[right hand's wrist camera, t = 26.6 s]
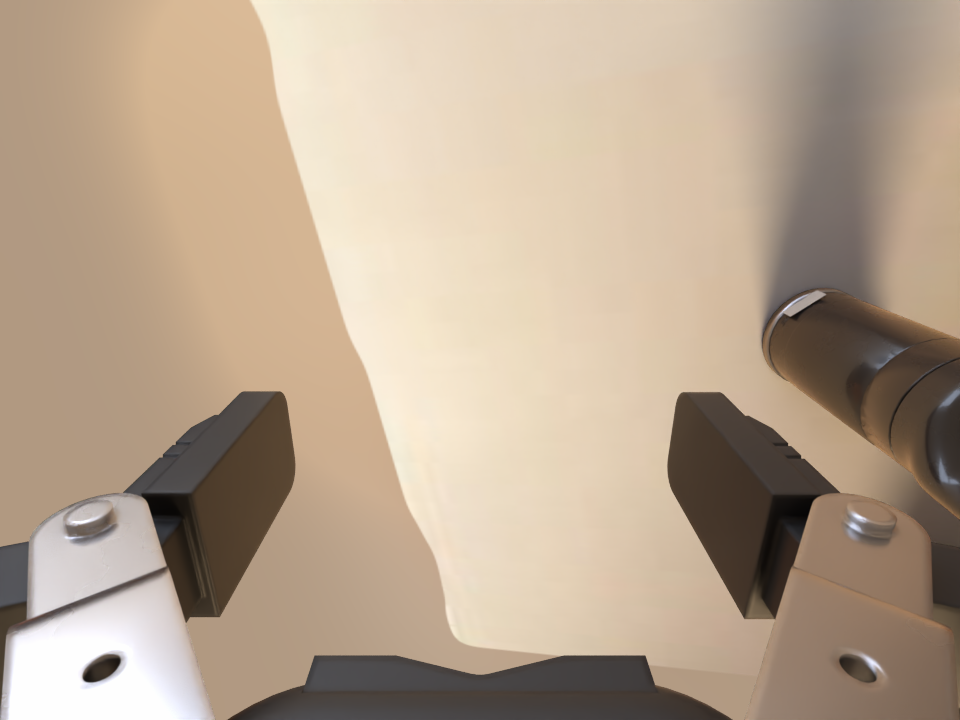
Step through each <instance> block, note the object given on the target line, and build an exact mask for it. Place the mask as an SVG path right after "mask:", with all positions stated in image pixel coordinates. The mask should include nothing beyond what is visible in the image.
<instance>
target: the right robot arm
mask: <svg viewBox="0 0 960 720" xmlns="http://www.w3.org/2000/svg"><path fill="white" fill-rule="evenodd" d="M763 353H764V357H765V360H766V362H767V364H768V365H769V367H770V368H771V369H772V370H773V371H774V372H775V373H776V374H778V375H779V376H780V377H782V378H783V379H785V380H786V381H788V382H790V383H792V384H793V385H794V386H796V387H797V388H798V389H799V390H801V391H802V392H803V393H805V394H806V395H807V396H809V397H810V398H811V399H813V400H814V401H815V402H817V403H818V404H819V405H821V406H822V407H823V408H825V409H826V410H827V411H829V412H830V413H831V414H833V415H834V416H835V417H837V418H838V419H839V420H841V421H842V422H844V423H845V424H846V425H848V426H849V427H850V428H852V429H853V430H854V431H856V432H857V433H858V434H860V435H861V436H862V437H864V438H865V439H866V440H868V441H869V442H870V443H872V444H873V445H875V446H876V447H877V448H879V449H880V450H881V451H883V452H884V453H885V454H887V455H888V456H889V457H891V458H892V459H893V460H895V461H896V462H898V463H899V464H900V465H902V466H903V467H904V468H906V469H907V470H908V471H910V472H911V473H912V474H913V475H914V477H915V479H916V481H917V482H918V484H919V485H920V486H921V487H922V488H923V489H924V490H925V491H926V492H927V493H928V494H929V495H930V496H931V497H932V498H934V499H935V500H936V501H937V502H938V503H940V504H941V505H942V506H943V507H945V508H946V509H947V510H948V511H949V512H951V513H952V514H953V515H954V516H955V517H957V518H958V519H959V520H960V339H958V338H955V337H953V336H950V335H948V334H945V333H943V332H940V331H937V330H935V329H932V328H930V327H927V326H925V325H922V324H920V323H917V322H915V321H912V320H910V319H907V318H904V317H902V316H899V315H897V314H894V313H892V312H889V311H887V310H884V309H882V308H879V307H877V306H874V305H871V304H869V303H867V302H864V301H862V300H859V299H857V298H855V297H853V296H851V295H849V294H847V293H844V292H842V291H839V290H836V289H830V288H817V289H812V290H808V291H805V292H802V293H800V294H798V295H796V296H794V297H792V298H791V299H789V300H788V301H786V302H785V303H784V304H783V305H782V306H780V307H779V309H778V310H777V311H776V312H775V313H774V314H773V316H772V317H771V319H770V320H769V322H768V324H767V327H766V329H765V332H764V336H763ZM294 476H295V456H294V449H293V442H292V435H291V428H290V421H289V414H288V407H287V401H286V398H285V396H284V394H283V393H282V392H241V393H240V394H239V395H238V396H237V397H236V398H235V399H234V400H233V401H232V402H231V403H230V404H229V405H228V406H227V407H226V408H225V409H224V410H223V411H222V412H221V413H220V414H219V415H214V416H212V417H210V418H208V419H206V420H204V421H203V422H201V423H199V424H197V425H195V426H193V427H191V428H190V429H189V430H188V431H187V432H186V433H185V434H184V435H183V436H182V437H181V438H180V439H179V440H178V441H177V442H176V445H172V446H171V447H170V448H169V449H168V450H167V451H166V452H165V453H164V454H163V458H159V459H158V460H157V461H156V462H155V463H154V464H153V465H151V466H150V467H149V468H148V469H147V470H146V471H145V472H144V473H143V474H142V475H141V476H140V477H139V478H138V479H137V480H136V481H135V482H134V483H133V484H132V485H131V486H130V487H128V488H127V489H126V490H125V491H124V492H123V493H114V494H106V495H101V496H96V497H92V498H89V499H86V500H83V501H80V502H77V503H75V504H72V505H70V506H68V507H66V508H64V509H62V510H60V511H58V512H56V513H55V514H53V515H51V516H50V517H49V518H47V519H46V520H44V521H43V522H42V523H41V524H40V525H39V526H38V527H37V528H36V529H35V530H34V531H33V533H32V535H31V537H30V540H29V542H24V543H18V544H13V545H8V546H3V547H0V720H216V719H215V716H214V713H213V710H212V706H211V703H210V700H209V697H208V693H207V690H206V687H205V684H204V680H203V677H202V674H201V671H200V667H199V664H198V661H197V658H196V654H195V651H194V648H193V645H192V641H191V638H190V635H189V632H188V628H187V625H186V622H187V621H188V619H189V618H190V617H220V616H221V614H222V612H223V610H224V609H225V607H226V605H227V603H228V601H229V600H230V598H231V596H232V594H233V592H234V591H235V589H236V587H237V585H238V583H239V582H240V580H241V578H242V576H243V575H244V573H245V571H246V569H247V567H248V566H249V564H250V562H251V560H252V558H253V557H254V555H255V553H256V551H257V549H258V548H259V546H260V544H261V542H262V541H263V539H264V537H265V535H266V533H267V532H268V530H269V528H270V526H271V524H272V523H273V521H274V519H275V517H276V515H277V514H278V512H279V510H280V508H281V507H282V505H283V503H284V501H285V499H286V498H287V496H288V494H289V492H290V490H291V488H292V485H293V481H294ZM668 478H669V483H670V487H671V489H672V491H673V493H674V495H675V497H676V499H677V500H678V502H679V504H680V506H681V508H682V509H683V511H684V513H685V515H686V516H687V518H688V520H689V522H690V523H691V525H692V527H693V529H694V531H695V532H696V534H697V536H698V538H699V539H700V541H701V543H702V545H703V546H704V548H705V550H706V552H707V553H708V555H709V557H710V559H711V561H712V562H713V564H714V566H715V568H716V569H717V571H718V573H719V575H720V576H721V578H722V580H723V582H724V584H725V585H726V587H727V589H728V591H729V592H730V594H731V596H732V598H733V599H734V601H735V603H736V605H737V607H738V608H739V610H740V612H741V614H742V615H743V617H744V619H775V622H774V625H773V628H772V632H771V635H770V638H769V641H768V645H767V648H766V651H765V654H764V658H763V661H762V664H761V667H760V671H759V674H758V677H757V680H756V684H755V687H754V690H753V694H752V697H751V700H750V703H749V707H748V710H747V713H746V716H745V720H960V548H959V547H953V546H948V545H943V544H938V543H933V542H931V540H930V537H929V535H928V533H927V531H926V530H925V529H924V528H923V527H922V526H921V525H920V524H919V523H918V522H917V521H916V520H914V519H913V518H912V517H910V516H909V515H907V514H905V513H904V512H902V511H900V510H898V509H896V508H894V507H892V506H890V505H888V504H885V503H883V502H880V501H877V500H874V499H871V498H868V497H864V496H859V495H854V494H846V493H840V492H839V491H838V490H837V489H836V488H835V487H834V486H833V485H832V484H831V483H829V482H828V481H827V480H826V479H825V478H824V477H823V476H822V475H821V474H820V473H819V472H818V471H817V470H816V469H815V468H814V467H813V466H812V465H810V464H809V463H808V462H807V461H806V460H805V459H801V455H800V454H799V453H798V452H797V451H796V450H795V449H794V448H793V447H791V446H788V443H787V442H786V441H785V440H784V439H783V438H782V437H781V436H780V435H779V434H778V433H777V432H776V431H775V430H774V429H772V428H771V427H769V426H767V425H765V424H763V423H761V422H759V421H757V420H755V419H754V418H752V417H750V416H745V415H744V414H743V413H742V412H741V411H740V410H739V409H738V408H737V407H736V406H735V405H734V404H733V403H732V402H731V401H730V400H729V399H728V398H727V397H726V396H725V395H724V394H722V393H720V392H683V393H681V394H680V395H679V397H678V399H677V402H676V407H675V414H674V421H673V428H672V435H671V442H670V448H669V455H668ZM228 720H732V719H731V718H729V717H728V716H726V715H724V714H722V713H721V712H719V711H717V710H715V709H714V708H712V707H710V706H708V705H707V704H705V703H702V702H700V701H698V700H696V699H694V698H692V697H689V696H687V695H685V694H682V693H679V692H676V691H673V690H670V689H668V688H664V687H660V686H656V685H655V684H654V681H653V678H652V675H651V672H650V668H649V665H648V662H647V659H646V656H560V657H556V658H552V659H548V660H544V661H540V662H536V663H532V664H528V665H523V666H519V667H515V668H511V669H507V670H503V671H499V672H495V673H491V674H485V675H475V674H469V673H465V672H461V671H457V670H453V669H449V668H444V667H441V666H437V665H432V664H428V663H424V662H420V661H416V660H412V659H408V658H403V657H400V656H314V659H313V662H312V665H311V668H310V672H309V675H308V678H307V681H306V684H305V685H303V686H300V687H296V688H292V689H290V690H287V691H284V692H281V693H278V694H275V695H273V696H271V697H268V698H266V699H264V700H262V701H260V702H258V703H255V704H253V705H251V706H250V707H248V708H246V709H244V710H243V711H241V712H239V713H238V714H236V715H234V716H232V717H231V718H229V719H228Z"/></svg>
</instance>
